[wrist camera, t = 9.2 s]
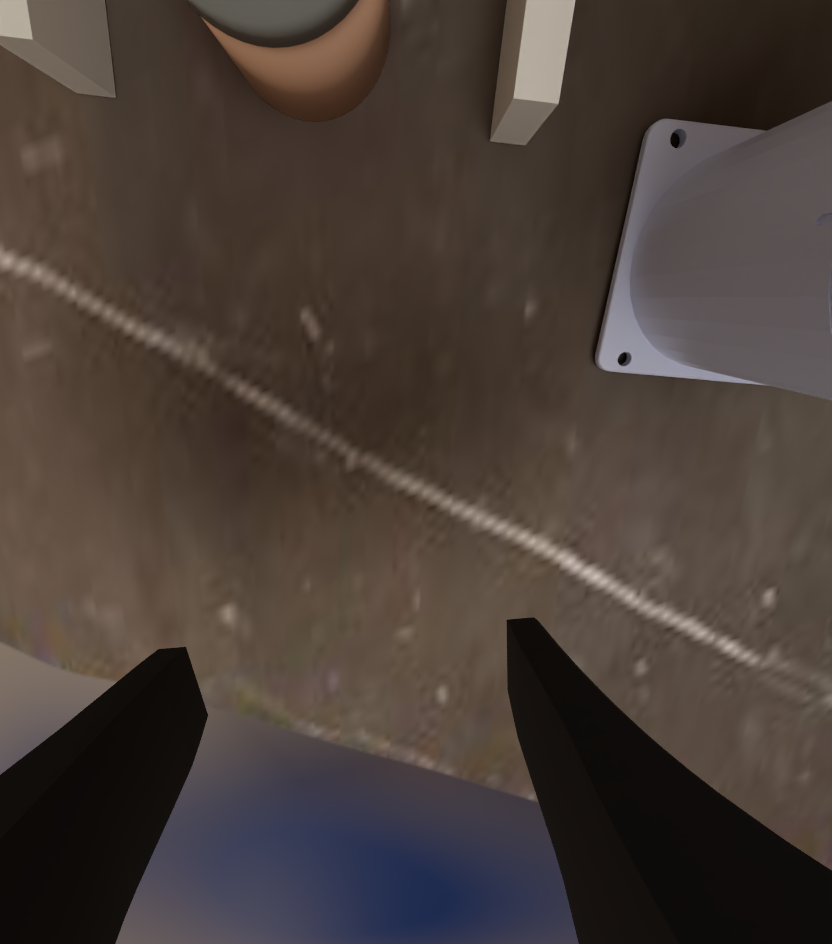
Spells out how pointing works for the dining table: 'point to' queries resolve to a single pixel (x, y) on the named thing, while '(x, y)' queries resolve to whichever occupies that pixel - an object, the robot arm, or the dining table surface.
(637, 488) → the dining table surface
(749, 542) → the dining table surface
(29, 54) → the u-frame with teal panels
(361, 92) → the terracotta jar
